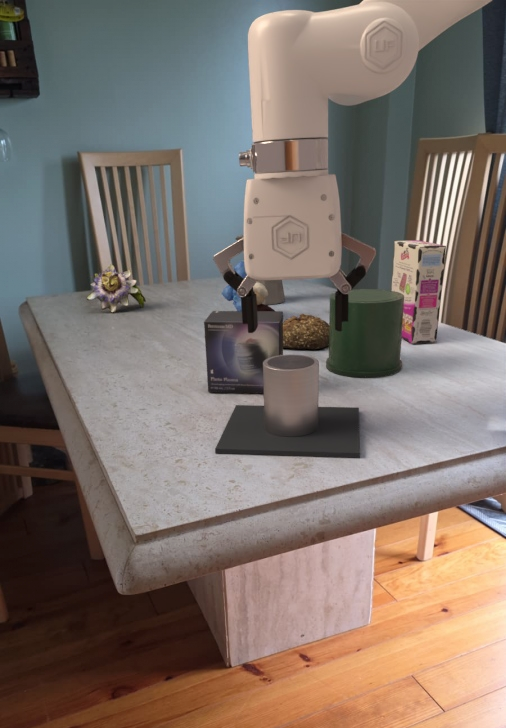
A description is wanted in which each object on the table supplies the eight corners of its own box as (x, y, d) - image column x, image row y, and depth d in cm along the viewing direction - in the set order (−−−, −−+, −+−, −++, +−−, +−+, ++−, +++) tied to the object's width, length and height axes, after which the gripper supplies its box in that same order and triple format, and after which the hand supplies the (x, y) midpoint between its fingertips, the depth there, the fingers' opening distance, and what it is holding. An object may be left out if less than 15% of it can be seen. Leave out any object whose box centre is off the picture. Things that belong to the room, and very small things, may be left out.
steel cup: (319, 417, 77) (320, 354, 74) (316, 437, 71) (317, 370, 68) (268, 416, 78) (266, 353, 75) (261, 436, 72) (259, 369, 69)
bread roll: (321, 353, 105) (321, 324, 103) (255, 347, 110) (254, 319, 108) (344, 335, 116) (344, 308, 114) (282, 331, 120) (282, 305, 118)
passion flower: (117, 335, 144) (80, 297, 137) (113, 317, 153) (78, 280, 145) (155, 305, 142) (120, 265, 135) (148, 289, 151) (115, 250, 144)
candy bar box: (438, 343, 109) (447, 245, 102) (411, 345, 108) (419, 246, 101) (412, 328, 119) (419, 238, 112) (387, 330, 118) (393, 240, 111)
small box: (206, 394, 88) (201, 320, 84) (215, 379, 94) (210, 310, 90) (280, 395, 87) (279, 320, 82) (284, 380, 92) (284, 310, 88)
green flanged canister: (399, 356, 102) (404, 287, 98) (404, 378, 92) (410, 302, 87) (327, 355, 104) (328, 288, 99) (324, 377, 93) (325, 303, 89)
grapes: (223, 316, 134) (220, 258, 130) (254, 314, 134) (253, 257, 130) (222, 328, 124) (218, 266, 119) (255, 327, 124) (253, 265, 119)
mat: (358, 411, 80) (358, 407, 80) (359, 457, 67) (360, 452, 67) (236, 409, 82) (235, 404, 82) (215, 453, 70) (214, 448, 69)
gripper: (199, 167, 61) (213, 339, 68) (379, 155, 58) (375, 336, 65) (214, 166, 67) (225, 323, 74) (376, 156, 65) (372, 319, 72)
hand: (295, 329), depth 70 cm, fingers open, 9 cm apart
